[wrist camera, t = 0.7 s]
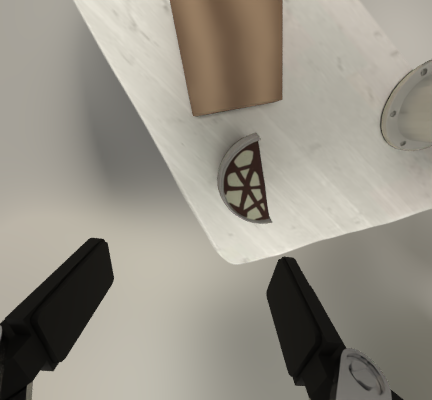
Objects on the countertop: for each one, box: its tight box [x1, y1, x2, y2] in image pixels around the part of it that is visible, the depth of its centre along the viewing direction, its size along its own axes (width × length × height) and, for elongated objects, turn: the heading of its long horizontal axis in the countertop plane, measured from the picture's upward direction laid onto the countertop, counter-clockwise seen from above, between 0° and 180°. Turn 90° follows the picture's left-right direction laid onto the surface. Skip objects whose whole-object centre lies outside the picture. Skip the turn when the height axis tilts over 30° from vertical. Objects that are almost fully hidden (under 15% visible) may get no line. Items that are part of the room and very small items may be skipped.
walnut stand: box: [170, 0, 282, 116], centre depth 22 cm, size 12×13×4 cm
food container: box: [217, 133, 272, 224], centre depth 26 cm, size 12×6×10 cm, turn 14°
